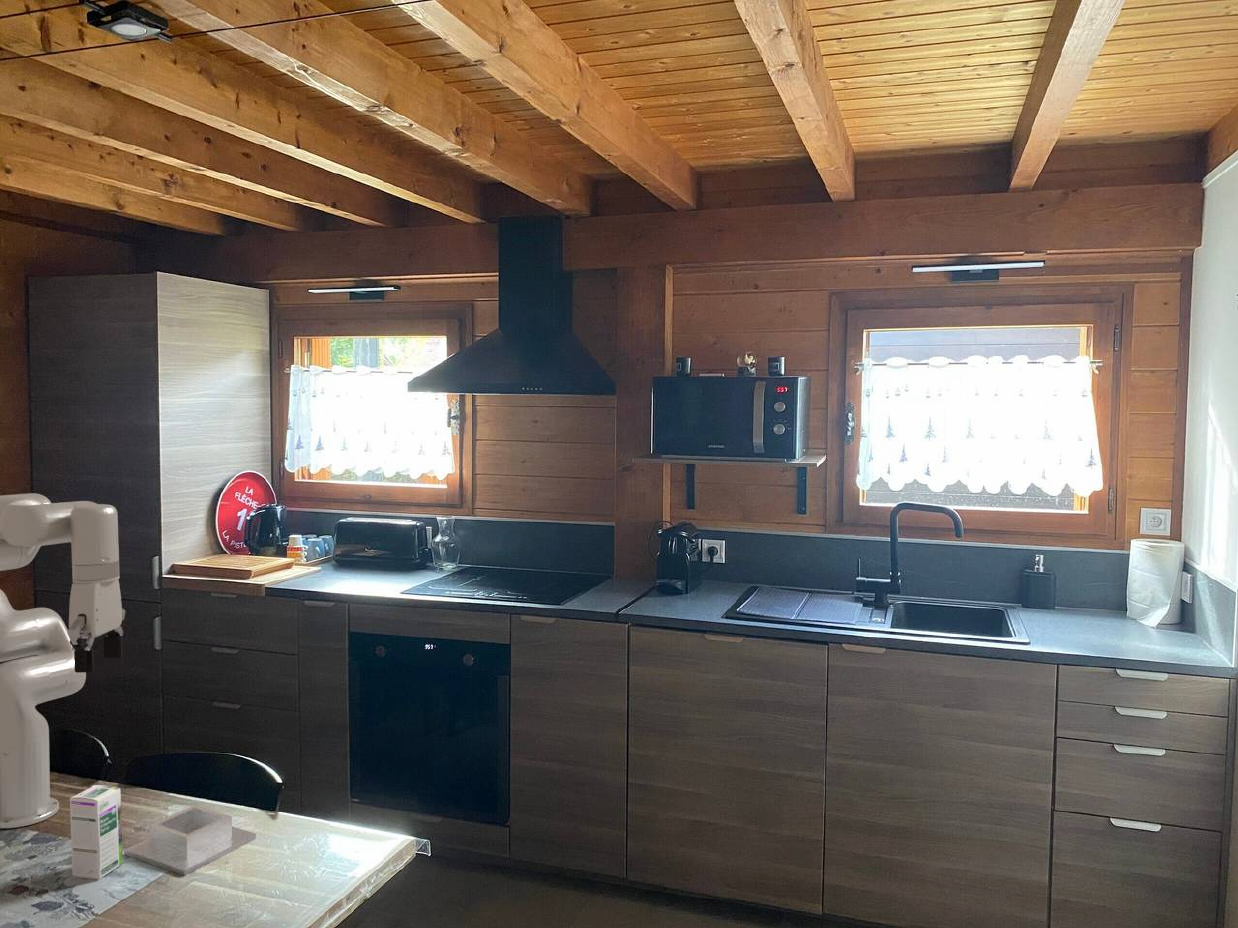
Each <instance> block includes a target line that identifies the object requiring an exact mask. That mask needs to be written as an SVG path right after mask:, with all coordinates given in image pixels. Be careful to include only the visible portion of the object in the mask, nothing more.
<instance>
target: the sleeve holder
mask: <svg viewBox="0 0 1238 928" xmlns="http://www.w3.org/2000/svg"><path fill="white" fill-rule="evenodd" d="M256 839H257V835H256V833H255V832H251V831H249V830H245V829H242V828H239V827H235V826H233V816H232V815H230V814H229V815H228V814H226V813H222V812H219V811H217V810H213V809H210V808H206V807H202V806H199V805H196V804H195V805H193V806H190V807H188V808H186V809H183V810H182V811H178V812H176V813H175V814H173V815H170V816H168V817H166V818H163V819H162V820H159V821H157V822H154V823H152V824H150V825H149V837H148V838H146V839H144V840H142V841H140V842H137V843H135V844H132V845H131V846H129V847H126V848H125V849H124V850H123V851H124V852H123V853H124V856H128V857H130V858H132V859H135V860H139V861H141V862H144V863H147V864H150V865H152V866H155V867H159V868H161V869H164V870H167V871H169V872H173V873H175V874H177V875H178V874H179V875H180V876H184V877H185V876H187V875H189V874H192V873H193V872H195V871H197V870H199V869H200V868H202V867H205V866H207V865H209V864H210V863H212V862H214V861H217V860H218V859H220V858H222V857H223V856H226V855H228V854H229V853H232V852H234V851H235V850H238V849H239V848H241V847H242V846H245V845H247V844H248V843H250V842H252V841H254V840H256Z"/></svg>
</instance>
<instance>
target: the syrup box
mask: <svg viewBox="0 0 1238 928" xmlns="http://www.w3.org/2000/svg"><path fill="white" fill-rule="evenodd" d="M69 814H70V817H69V818H70V837H71V838H70V840H71V843H70V844H71V867H72V869H71V870H72V871H71V873H72V876H73V877H78V878H82V879H89V880H99V881H100V880H101V879H103V877H105V876H107V875H108V874H110V873H111V872H112V871H114V870H115V869H118V868H119V867H121V866H122V865H123V864H124V863H123V862H124V861H123V837H122V836H123V835H122V834H123V832H122V830H123V829H122V796H121V787H117V786H113V785H105V784H104V785H103V784H93V785H92V786H90V787H89V788H88V789H85V790H83V791H81V792H79V793H78V794H76V795H73V796H71V797H70V798H69Z"/></svg>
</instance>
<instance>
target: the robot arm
mask: <svg viewBox="0 0 1238 928" xmlns="http://www.w3.org/2000/svg"><path fill="white" fill-rule="evenodd" d="M118 519H119V516H118V510H117V508H116V507H115V506H113V505H111V504H104V503H99V504H98V503H96V502H94V501H89V500H79V501H77V500H75V501H65V502H53V503H52V502H51V500H50V499H48V497H46V496H45V495H43V494H40V493H33V492H31V493H17V494H6V495H5V494H4V495H3V494H2V495H0V572H2V571H9V570H17V569H21V568H24V567H26V566H28V565H29V564H30V563H31V562H32V561H33V560H34V559H35V557H36V555H37V553H38V552H39V550H40V548H41V547H42V546H43V547H44V546H49V545H50V546H51V545H58V544H66V543H71V568H72V572H71V573H72V584H71V589H70V596H69V606H68V608H69V609H68V611H69V614H68V628H67V626H66V624H65V622H64V620H63V618H62V617H61V615H59V613H58V612H56V611H55V610H53V609H51V608H47V607H35V608H29V609H23V610H17V609H14V608H13V607H12V605H11V603H10V602H9V599H8V597H7V595H6V593H5V592H4V591H3V590H2V589H1V588H0V829H14V828H22V827H26V826H31V825H33V824H37V823H40V822H43V821H45V820H47V819H49V818H51V817H53V816H54V815H55V814H57V813H58V811H59V810H60V802H59V800H57V798H54V797H51V787H50V786H51V783H50V782H51V780H50V779H51V778H50V776H51V775H50V728H49V724H48V721H47V720H46V718H45V717H44V715H42V714H41V713H40V712H39V711H38V710H37V709H36V706H37V705H40V704H42V703H46V702H48V701H49V702H50V701H53V700H54V701H55V700H56V699H61V698H63V697H68V696H70V695H73V694H75V693H77V692H79V691H80V690H81V689H82V688H83V687H84V686H85V683H86V679H87V673H93V672H94V671H95V653H94V649H92V647H93V644H94V642H95V638H99V637H100V636H103V635H104V636H103V638H102V639H103V657H104V658H105V659H120V658H123V655H124V654H123V635H124V630H123V628H124V625H125V621H124V620H125V615H126V610H125V609H124V608H123V607H122V596H121V595H122V594H121V589H120V588H121V587H120V581H119V579H120V577H121V576H120V549H119V521H118ZM84 639H86V641H85V640H84ZM1 662H3V663H1Z"/></svg>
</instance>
